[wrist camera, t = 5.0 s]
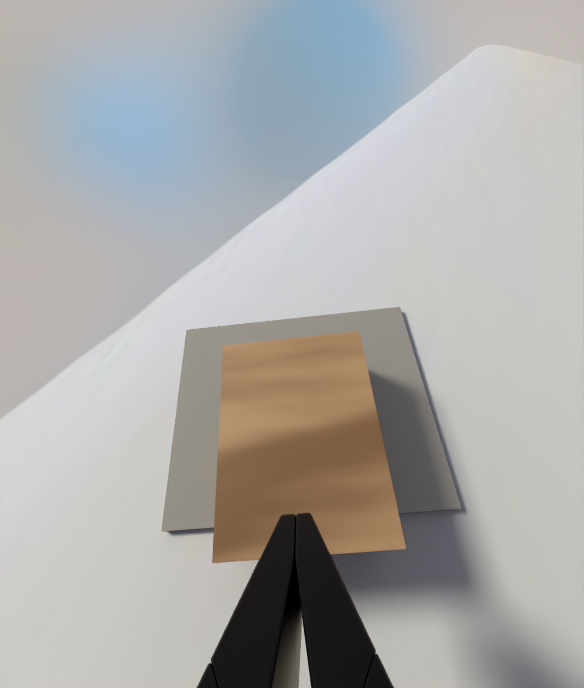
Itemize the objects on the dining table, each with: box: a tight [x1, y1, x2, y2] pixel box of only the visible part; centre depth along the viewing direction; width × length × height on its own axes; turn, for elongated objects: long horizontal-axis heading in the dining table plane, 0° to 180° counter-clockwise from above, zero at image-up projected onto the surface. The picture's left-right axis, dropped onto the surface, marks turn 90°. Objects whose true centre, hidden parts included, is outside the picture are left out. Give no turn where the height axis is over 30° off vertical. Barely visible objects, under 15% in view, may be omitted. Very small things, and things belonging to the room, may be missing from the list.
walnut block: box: [212, 331, 406, 563], centre depth 14 cm, size 4×7×9 cm
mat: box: [162, 307, 462, 531], centre depth 17 cm, size 12×15×1 cm
